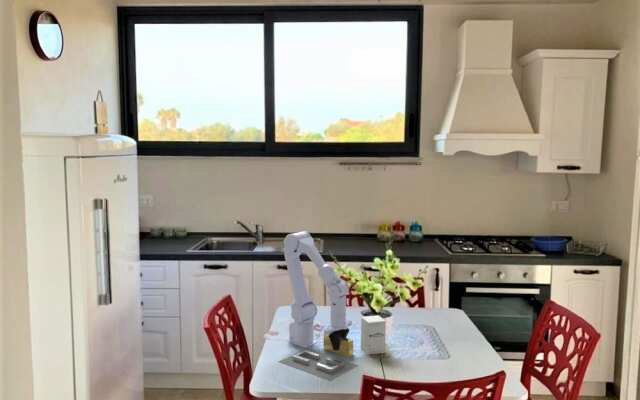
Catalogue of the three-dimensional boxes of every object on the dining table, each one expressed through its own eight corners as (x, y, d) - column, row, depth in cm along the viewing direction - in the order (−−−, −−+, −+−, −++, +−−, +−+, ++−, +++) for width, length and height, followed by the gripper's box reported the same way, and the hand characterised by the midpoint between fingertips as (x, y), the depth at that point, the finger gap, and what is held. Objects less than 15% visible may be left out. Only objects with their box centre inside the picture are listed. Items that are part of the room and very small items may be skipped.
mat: (278, 362, 185) (278, 361, 185) (307, 349, 197) (307, 348, 197) (330, 382, 169) (330, 380, 169) (358, 366, 182) (358, 365, 182)
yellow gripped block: (323, 349, 197) (323, 334, 196) (327, 347, 199) (327, 332, 198) (348, 357, 189) (348, 342, 188) (353, 355, 191) (353, 340, 190)
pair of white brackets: (292, 359, 186) (292, 355, 186) (305, 353, 192) (305, 349, 191) (331, 373, 175) (331, 369, 174) (344, 366, 180) (344, 362, 180)
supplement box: (367, 355, 191) (367, 322, 190) (360, 348, 198) (360, 316, 197) (385, 353, 193) (386, 320, 192) (378, 346, 200) (378, 314, 199)
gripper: (334, 320, 184) (334, 357, 185) (358, 310, 195) (357, 345, 197) (319, 316, 189) (319, 352, 190) (343, 307, 200) (343, 341, 201)
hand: (338, 348), depth 194 cm, fingers closed on yellow gripped block, 3 cm apart
